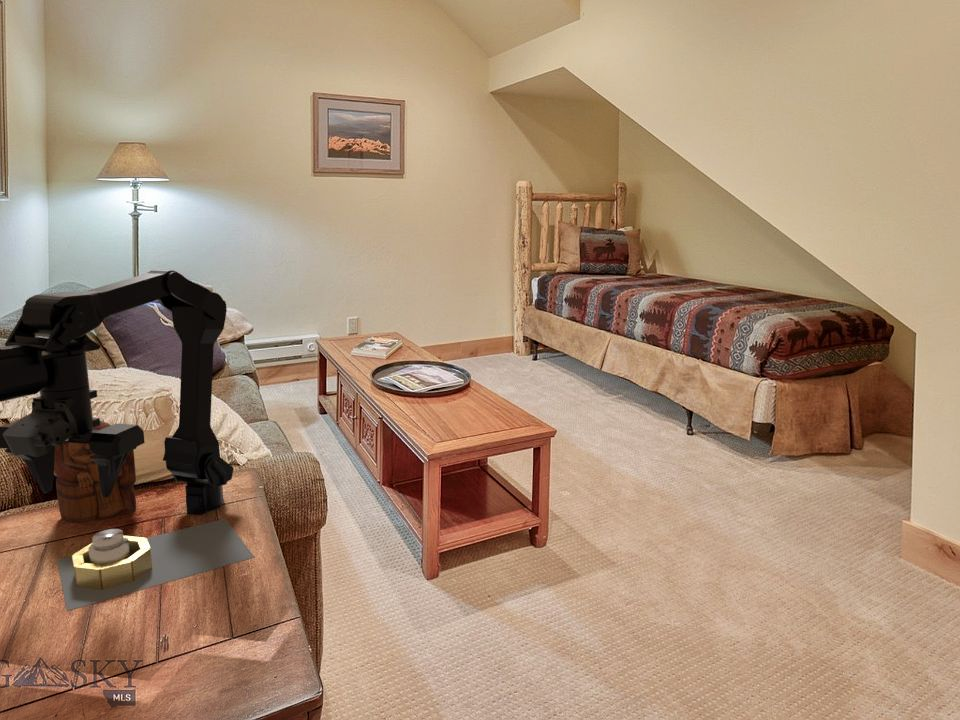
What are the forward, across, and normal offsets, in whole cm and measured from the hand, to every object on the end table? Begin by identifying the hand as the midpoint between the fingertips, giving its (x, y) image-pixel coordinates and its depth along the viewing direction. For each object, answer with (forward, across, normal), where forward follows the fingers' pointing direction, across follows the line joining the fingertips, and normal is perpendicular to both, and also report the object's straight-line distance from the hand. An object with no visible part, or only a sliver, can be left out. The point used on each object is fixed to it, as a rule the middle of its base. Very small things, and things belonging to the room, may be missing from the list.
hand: (77, 494), depth 90 cm
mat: (+13, +8, +4) cm, 16 cm away
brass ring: (+11, +4, 0) cm, 12 cm away
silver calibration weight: (+11, +4, 0) cm, 12 cm away
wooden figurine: (+13, -11, +17) cm, 24 cm away
